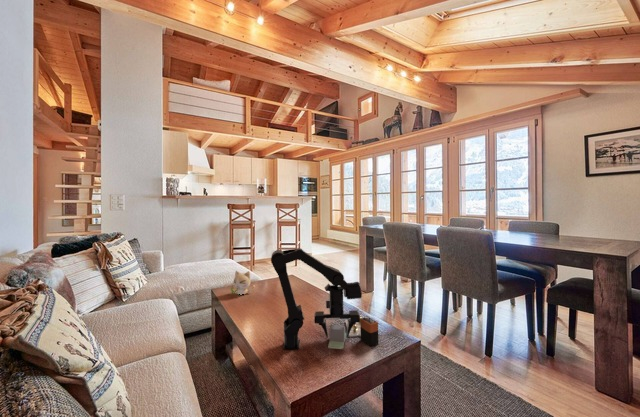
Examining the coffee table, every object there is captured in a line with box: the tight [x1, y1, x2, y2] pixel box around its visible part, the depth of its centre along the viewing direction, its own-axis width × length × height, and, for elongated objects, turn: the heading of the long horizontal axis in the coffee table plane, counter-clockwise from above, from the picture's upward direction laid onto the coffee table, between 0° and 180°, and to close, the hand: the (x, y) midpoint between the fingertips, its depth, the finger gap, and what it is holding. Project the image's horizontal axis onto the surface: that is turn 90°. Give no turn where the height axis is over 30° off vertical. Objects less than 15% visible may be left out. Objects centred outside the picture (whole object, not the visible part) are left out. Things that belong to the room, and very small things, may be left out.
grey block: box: [327, 324, 347, 350], centre depth 112 cm, size 12×6×6 cm, turn 169°
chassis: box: [345, 316, 363, 338], centre depth 122 cm, size 14×10×4 cm
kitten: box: [230, 270, 256, 296], centre depth 172 cm, size 15×10×15 cm
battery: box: [360, 315, 379, 347], centre depth 110 cm, size 4×7×10 cm, turn 28°
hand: (337, 336), depth 112 cm, fingers open, 8 cm apart
